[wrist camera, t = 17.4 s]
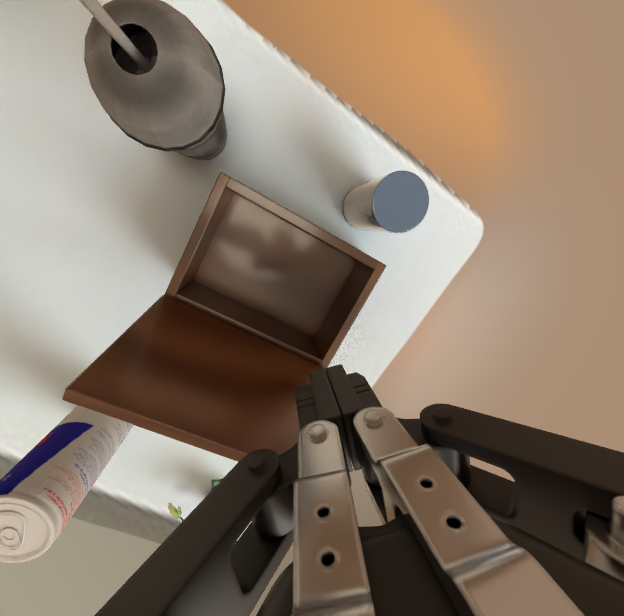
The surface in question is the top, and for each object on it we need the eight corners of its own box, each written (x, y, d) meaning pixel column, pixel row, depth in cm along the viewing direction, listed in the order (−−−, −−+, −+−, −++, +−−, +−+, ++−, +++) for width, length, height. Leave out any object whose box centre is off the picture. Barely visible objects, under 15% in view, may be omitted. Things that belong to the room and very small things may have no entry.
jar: (335, 216, 33) (361, 214, 24) (356, 176, 33) (392, 158, 23) (370, 237, 34) (409, 243, 25) (392, 199, 34) (440, 190, 24)
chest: (230, 181, 31) (220, 171, 25) (365, 257, 35) (386, 265, 28) (184, 282, 33) (163, 297, 27) (316, 344, 37) (325, 370, 30)
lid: (64, 388, 15) (61, 400, 15) (346, 489, 19) (339, 497, 19) (163, 294, 26) (159, 302, 26) (328, 369, 30) (324, 376, 30)
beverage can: (114, 375, 35) (4, 483, 20) (151, 410, 36) (73, 534, 22) (74, 404, 35) (-62, 531, 21) (112, 438, 37) (10, 578, 22)
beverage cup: (212, 192, 31) (120, 147, 12) (144, 139, 29) (-92, -13, 10) (257, 128, 30) (233, -29, 11) (189, 69, 29) (23, -241, 9)
